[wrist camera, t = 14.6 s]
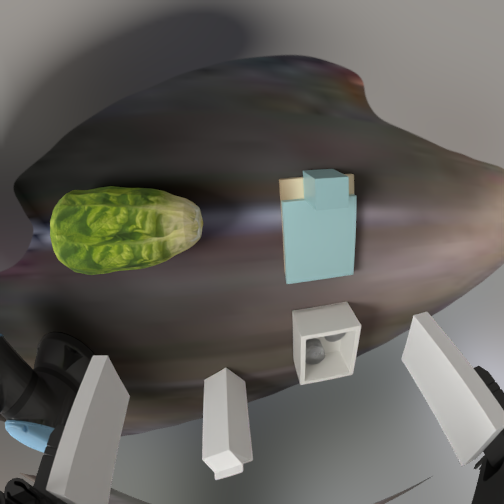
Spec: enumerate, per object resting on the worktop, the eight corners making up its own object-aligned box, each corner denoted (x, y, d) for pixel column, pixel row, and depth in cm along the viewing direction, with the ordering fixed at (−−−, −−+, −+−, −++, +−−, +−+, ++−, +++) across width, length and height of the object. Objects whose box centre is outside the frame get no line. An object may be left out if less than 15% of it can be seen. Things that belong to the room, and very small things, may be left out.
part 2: (318, 331, 52) (322, 342, 50) (321, 314, 51) (326, 325, 48) (338, 330, 53) (343, 340, 50) (342, 313, 51) (348, 323, 48)
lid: (285, 280, 47) (293, 302, 42) (279, 172, 40) (287, 181, 35) (351, 271, 48) (365, 290, 42) (353, 167, 40) (371, 175, 35)
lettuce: (208, 246, 45) (204, 286, 34) (84, 254, 43) (54, 290, 33) (203, 169, 40) (195, 187, 30) (71, 185, 38) (31, 206, 28)
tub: (293, 358, 56) (300, 385, 50) (292, 310, 51) (300, 336, 44) (341, 349, 56) (352, 374, 50) (346, 301, 51) (361, 325, 45)
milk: (204, 379, 57) (200, 475, 37) (226, 366, 55) (229, 466, 35) (224, 393, 59) (226, 484, 39) (246, 381, 58) (255, 476, 38)
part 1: (299, 354, 54) (302, 365, 52) (302, 338, 53) (306, 349, 50) (318, 352, 55) (322, 363, 52) (323, 337, 53) (327, 348, 50)
